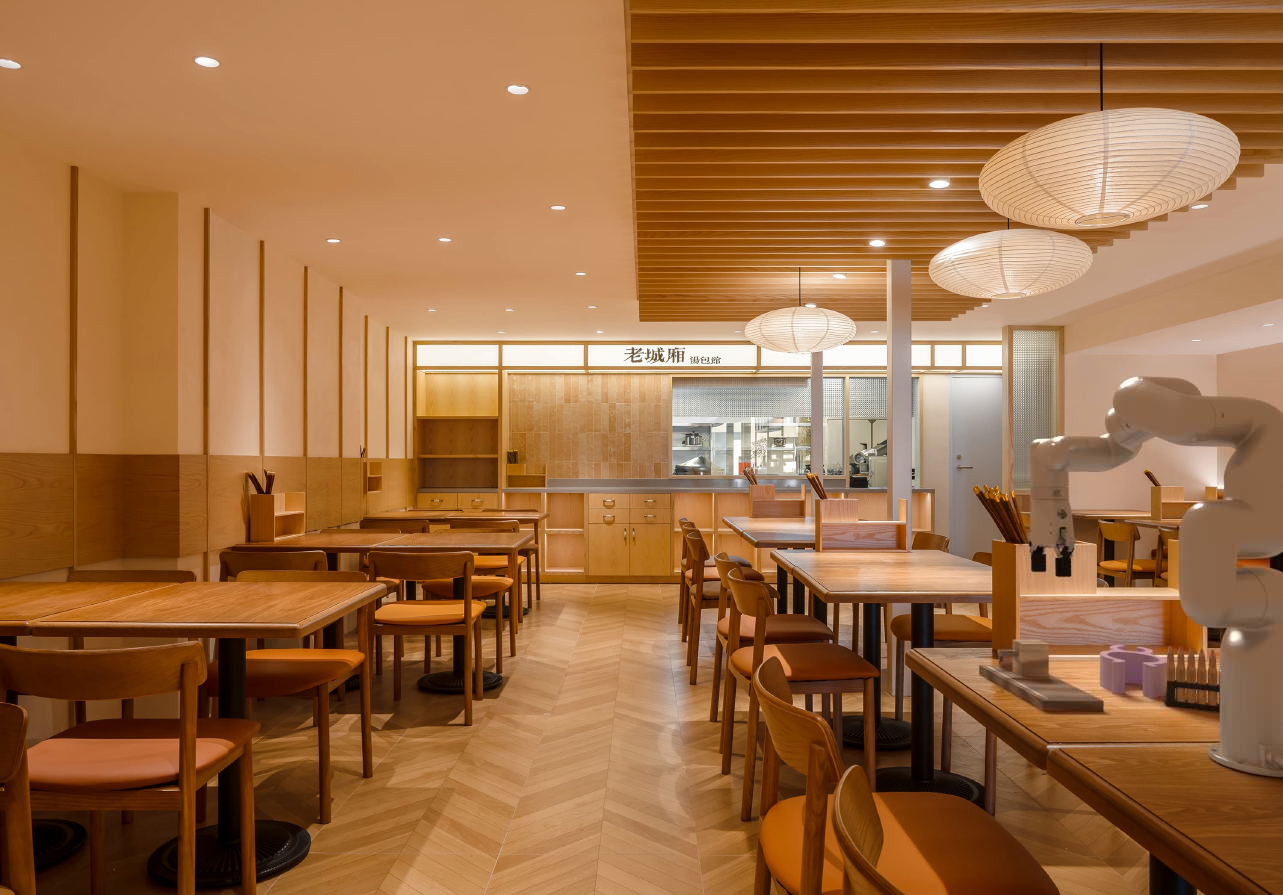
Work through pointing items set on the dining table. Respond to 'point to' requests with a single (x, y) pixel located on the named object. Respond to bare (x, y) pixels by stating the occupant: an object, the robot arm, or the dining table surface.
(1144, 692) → the clip
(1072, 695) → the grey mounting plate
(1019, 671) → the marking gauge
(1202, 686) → the ammunition clip
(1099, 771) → the dining table surface
